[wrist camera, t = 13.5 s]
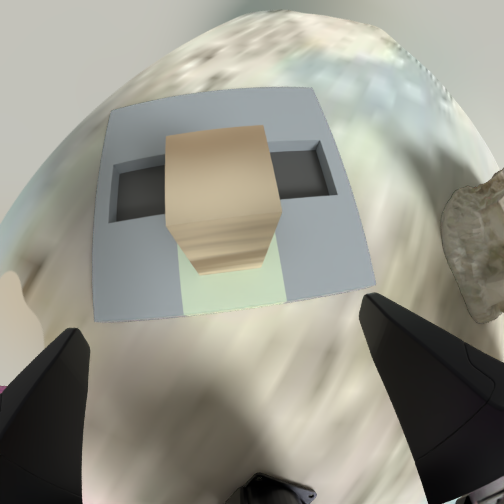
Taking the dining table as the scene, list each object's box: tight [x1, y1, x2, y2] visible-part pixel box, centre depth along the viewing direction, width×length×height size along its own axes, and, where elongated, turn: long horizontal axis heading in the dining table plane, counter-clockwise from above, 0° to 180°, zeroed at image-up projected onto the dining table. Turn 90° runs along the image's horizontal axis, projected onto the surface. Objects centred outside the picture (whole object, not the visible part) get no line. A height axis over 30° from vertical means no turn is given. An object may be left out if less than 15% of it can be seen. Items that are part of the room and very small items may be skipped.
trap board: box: [92, 87, 376, 323], centre depth 23 cm, size 22×22×2 cm
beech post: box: [165, 125, 282, 276], centre depth 16 cm, size 4×4×10 cm
